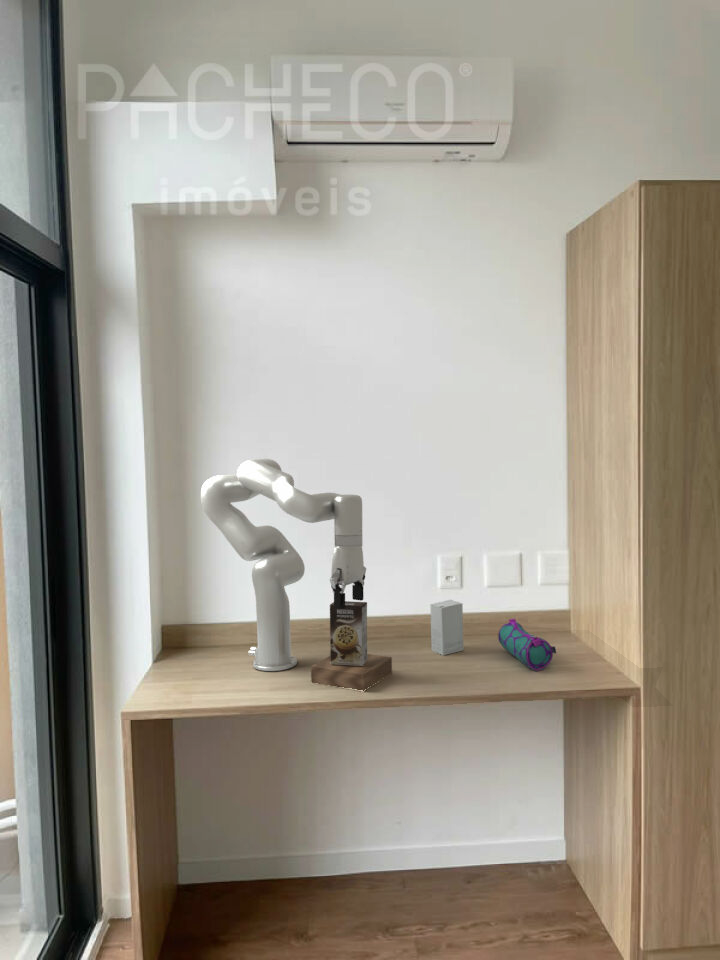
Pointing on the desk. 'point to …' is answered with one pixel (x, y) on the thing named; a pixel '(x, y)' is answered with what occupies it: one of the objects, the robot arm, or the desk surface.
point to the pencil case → (525, 646)
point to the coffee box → (348, 634)
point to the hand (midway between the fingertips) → (348, 603)
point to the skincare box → (447, 627)
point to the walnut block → (352, 672)
